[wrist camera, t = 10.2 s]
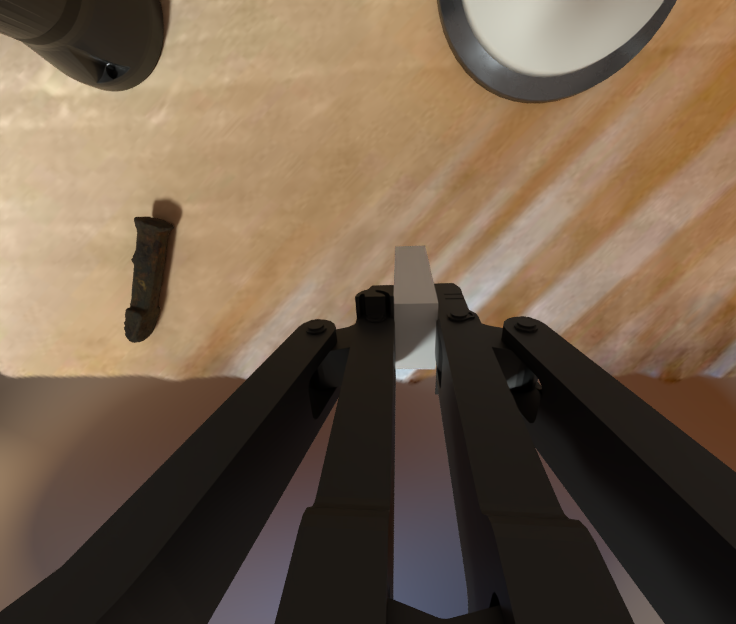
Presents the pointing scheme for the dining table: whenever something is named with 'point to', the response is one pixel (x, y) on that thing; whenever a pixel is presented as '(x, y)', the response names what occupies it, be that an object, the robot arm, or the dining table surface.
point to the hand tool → (146, 277)
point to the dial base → (530, 87)
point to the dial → (555, 31)
